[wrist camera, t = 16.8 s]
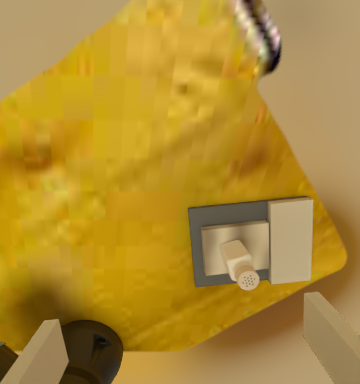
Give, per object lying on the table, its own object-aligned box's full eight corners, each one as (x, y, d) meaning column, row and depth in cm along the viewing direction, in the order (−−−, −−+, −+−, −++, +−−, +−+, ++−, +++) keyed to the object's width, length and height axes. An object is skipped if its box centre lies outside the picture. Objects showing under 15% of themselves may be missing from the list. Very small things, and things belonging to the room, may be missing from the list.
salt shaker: (239, 237, 43) (259, 264, 34) (244, 256, 44) (265, 288, 35) (217, 244, 43) (232, 273, 34) (223, 263, 44) (238, 296, 35)
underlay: (195, 284, 48) (196, 292, 45) (188, 207, 44) (188, 212, 42) (303, 272, 48) (310, 280, 46) (305, 196, 45) (313, 199, 42)
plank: (204, 271, 46) (205, 275, 44) (200, 227, 44) (202, 230, 42) (265, 264, 46) (269, 268, 45) (265, 220, 44) (268, 223, 43)
